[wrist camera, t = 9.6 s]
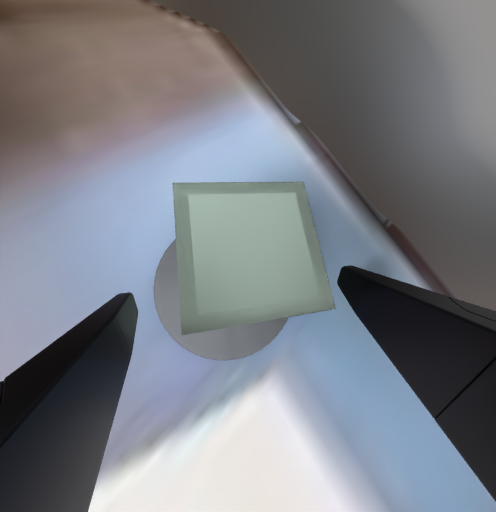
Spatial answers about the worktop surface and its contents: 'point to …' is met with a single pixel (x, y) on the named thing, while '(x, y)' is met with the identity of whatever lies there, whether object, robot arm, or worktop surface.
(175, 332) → the coaster
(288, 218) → the pale green block
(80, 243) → the worktop surface
